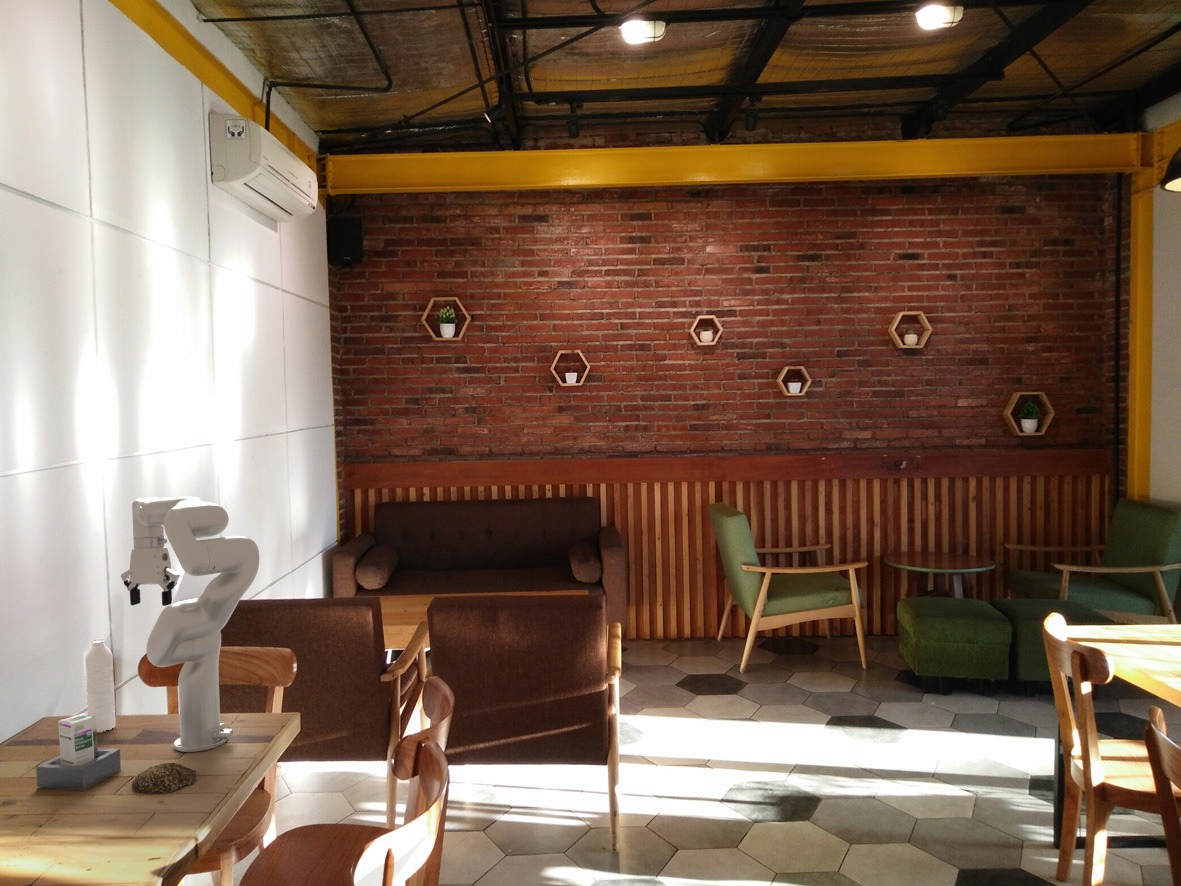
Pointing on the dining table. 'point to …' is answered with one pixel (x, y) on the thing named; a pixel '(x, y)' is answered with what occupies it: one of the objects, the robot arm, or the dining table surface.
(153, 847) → the dining table surface
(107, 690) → the water bottle
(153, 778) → the bread roll
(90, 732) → the syrup box
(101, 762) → the socket
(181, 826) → the dining table surface
